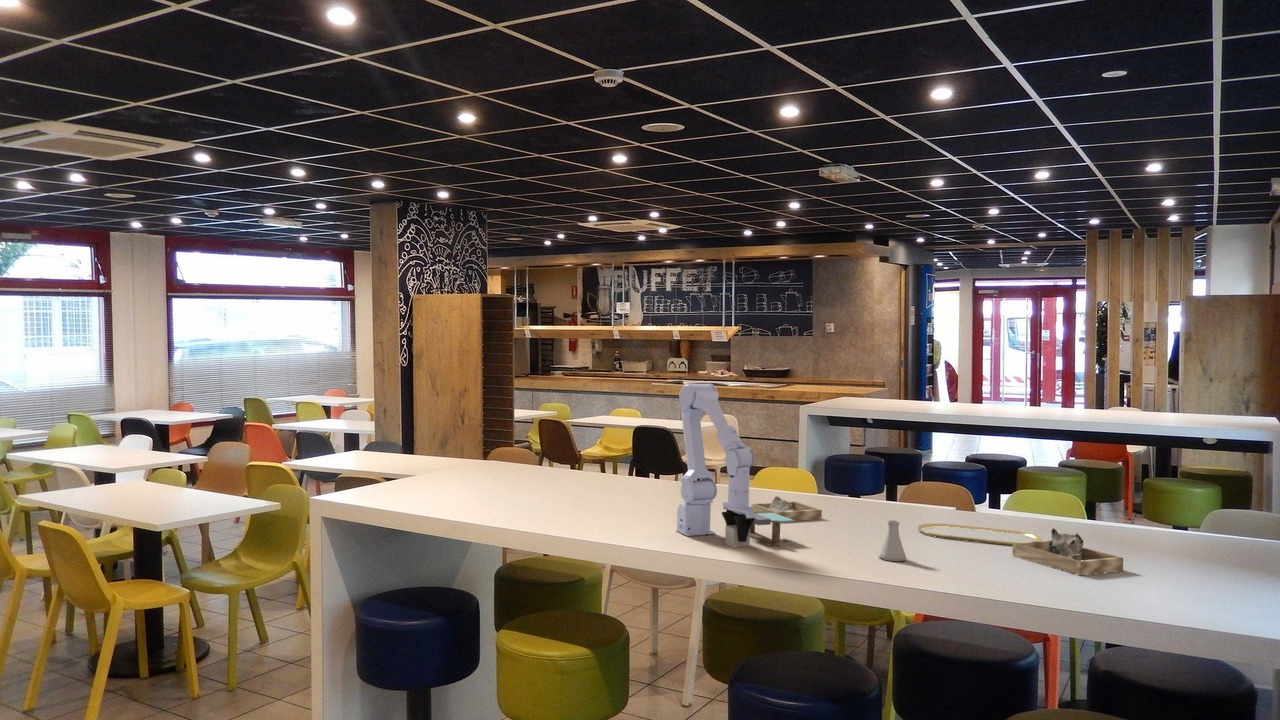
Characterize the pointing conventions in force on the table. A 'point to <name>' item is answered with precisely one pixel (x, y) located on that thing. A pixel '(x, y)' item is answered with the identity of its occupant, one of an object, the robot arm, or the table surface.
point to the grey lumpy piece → (1066, 545)
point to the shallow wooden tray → (1089, 565)
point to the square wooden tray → (799, 513)
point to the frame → (773, 541)
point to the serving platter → (975, 538)
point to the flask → (893, 544)
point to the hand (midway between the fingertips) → (737, 539)
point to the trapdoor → (769, 518)
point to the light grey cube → (735, 536)
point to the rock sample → (780, 505)
